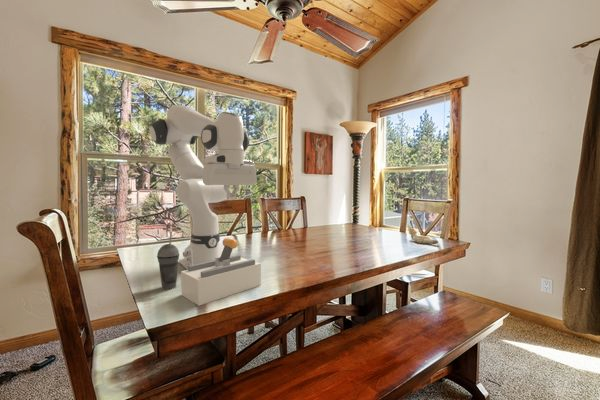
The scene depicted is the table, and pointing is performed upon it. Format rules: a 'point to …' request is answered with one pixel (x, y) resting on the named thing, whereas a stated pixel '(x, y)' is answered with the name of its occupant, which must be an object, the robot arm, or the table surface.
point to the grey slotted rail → (220, 269)
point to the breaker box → (219, 282)
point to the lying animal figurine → (420, 237)
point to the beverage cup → (168, 264)
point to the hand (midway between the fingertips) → (231, 198)
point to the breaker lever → (228, 248)
